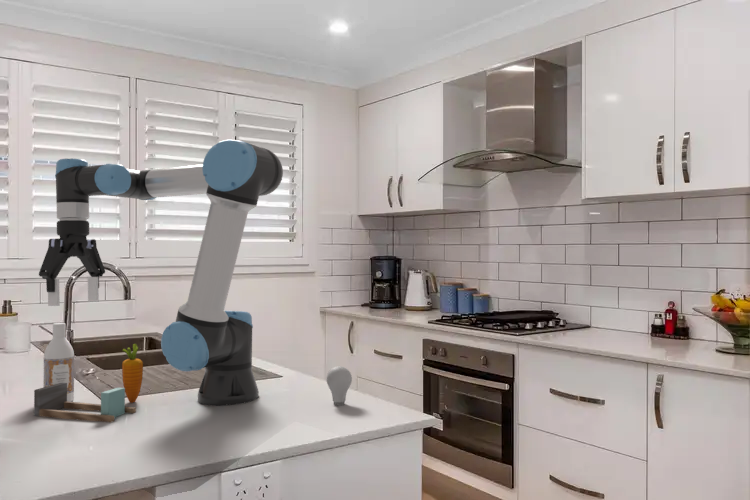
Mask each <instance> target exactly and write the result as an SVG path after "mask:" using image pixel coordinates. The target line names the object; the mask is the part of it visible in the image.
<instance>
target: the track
mask: <svg viewBox="0 0 750 500" xmlns="http://www.w3.org/2000/svg"><path fill="white" fill-rule="evenodd" d="M33 393H34V397H33V398H34V399H33V400H34V402H33V403H34V404H33V407H34V408H33V409H34V410H33V412H34V413H33V415H34V417H44V418H45V417H46V418H47V417H48V418H52V419H53V418H55V419H56V418H57V419H65V420H75V419H78V420H79V421H87V422H88V421H89V422H91V421H92V422H103V423H104V422H105V423H113V422H115V417H114V416H113V415H103V414H101V413H90V412H81V411H71V410H79V409H82V411H94V410H99V411H98V412H101V403H100V404H99V403H89V402H80V401H72V402H69V401H67V383H59V384H55V385H51V386H47V387H40V388H37V389H34V390H33ZM63 409H67V410H63ZM125 413H126V414H134V413H137V407H133V406H125ZM125 413H124V414H125Z"/></svg>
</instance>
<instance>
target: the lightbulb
mask: <svg viewBox="0 0 750 500" xmlns="http://www.w3.org/2000/svg"><path fill="white" fill-rule="evenodd" d="M352 382H353V377H352V373H351V372H350V370H349V369H348V368H347V367H344V366H340V365H338V366H334V367H331V369H330V370H329V371H328V373H327V375H326V384H327V386H328V388H329V390H330V392H331V395H332V397H331V398H332V401H333V406H334V407H335V406H337V407H341V406H344V405H345V402H346V400H347V393H348V390H349V388H350V387H351V385H352Z"/></svg>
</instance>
